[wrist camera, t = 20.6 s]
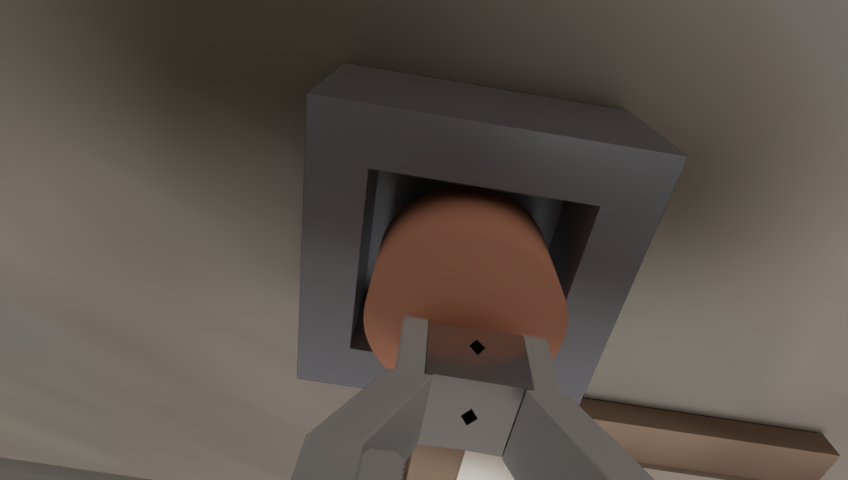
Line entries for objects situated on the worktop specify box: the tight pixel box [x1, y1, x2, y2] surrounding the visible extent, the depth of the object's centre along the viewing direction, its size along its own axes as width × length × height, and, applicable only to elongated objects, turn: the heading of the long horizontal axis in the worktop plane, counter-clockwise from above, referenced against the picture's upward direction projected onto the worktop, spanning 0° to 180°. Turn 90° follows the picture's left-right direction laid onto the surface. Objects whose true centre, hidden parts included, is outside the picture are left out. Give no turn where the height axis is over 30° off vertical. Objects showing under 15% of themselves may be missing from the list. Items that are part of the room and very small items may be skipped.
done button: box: [363, 186, 568, 369], centre depth 12 cm, size 4×4×3 cm
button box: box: [297, 63, 688, 405], centre depth 14 cm, size 8×8×4 cm
